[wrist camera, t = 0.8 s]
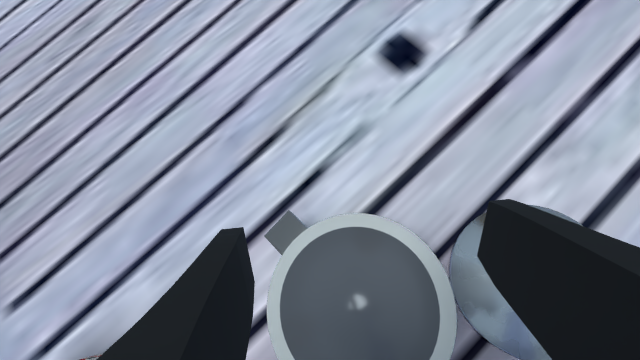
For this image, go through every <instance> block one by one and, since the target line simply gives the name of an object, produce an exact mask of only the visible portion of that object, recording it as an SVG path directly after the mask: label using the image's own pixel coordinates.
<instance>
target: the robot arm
mask: <svg viewBox="0 0 640 360" xmlns="http://www.w3.org/2000/svg"><path fill="white" fill-rule="evenodd" d="M477 256H478V258H479V260H480V262H481V264H482V265H483V267H484V269H485V271H486V272H487V274H488V276H489V277H490V279H491V281H492V282H493V284H494V286H495V287H496V288H497V290H498V291H499V292H500V294H501V295H502V296H503V297H504V299H505V300H506V301H507V303H508V304H509V305H510V307H511V308H512V309H513V311H514V312H515V313H516V314H517V316H518V317H519V318H520V319H521V321H522V322H523V323H524V325H525V326H526V327H527V328H528V330H529V331H530V332H531V333H532V335H533V336H534V337H535V339H536V340H537V341H538V342H539V344H540V345H541V346H542V347H543V349H544V350H545V351H546V353H547V354H548V355H549V356H550V358H551V359H552V360H640V248H639V247H637V246H634V245H631V244H628V243H626V242H623V241H620V240H618V239H615V238H612V237H610V236H607V235H604V234H602V233H599V232H596V231H594V230H591V229H589V228H586V227H584V226H581V225H578V224H576V223H573V222H571V221H568V220H566V219H563V218H561V217H558V216H555V215H553V214H550V213H548V212H545V211H543V210H540V209H537V208H534V207H532V206H529V205H526V204H523V203H520V202H517V201H514V200H510V199H506V200H496V201H489V204H488V208H487V213H486V217H485V222H484V226H483V231H482V235H481V240H480V244H479V248H478V253H477ZM254 283H255V281H254V276H253V272H252V267H251V262H250V257H249V253H248V248H247V243H246V238H245V234H244V229H243V227H241V228H232V229H222V230H221V231H220V232H219V233H218V234H217V235H216V236H215V237H214V238H213V240H212V241H211V242H210V243H209V244H208V246H207V247H206V248H205V249H204V250H203V251H202V253H201V254H200V255H199V256H198V257H197V259H196V260H195V261H194V262H193V263H192V264H191V266H190V267H189V268H188V269H187V270H186V271H185V272H184V273H183V275H182V276H181V277H180V278H179V279H178V280H177V281H176V282H175V284H174V285H173V286H172V287H171V288H170V289H169V290H168V291H167V292H166V293H165V294H164V295H163V296H162V297H161V298H160V299H159V300H158V301H157V303H156V304H155V305H154V306H153V307H152V308H151V309H150V310H149V311H148V312H147V313H146V314H145V315H144V316H143V317H142V318H141V319H140V320H139V321H138V322H137V323H136V324H135V325H134V326H133V327H132V328H131V329H129V330H128V331H127V332H126V333H125V334H124V335H123V336H122V337H121V338H120V339H119V340H118V341H117V342H115V343H114V344H113V345H112V346H111V347H110V348H109V349H108V350H106V351H105V352H104V353H103V354H102V355H101V356H100V357H99V358H98V359H96V360H246V354H247V348H248V342H249V336H250V330H251V324H252V317H253V304H254Z"/></svg>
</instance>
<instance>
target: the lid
mask: <svg viewBox="0 0 640 360" xmlns="http://www.w3.org/2000/svg"><path fill="white" fill-rule="evenodd" d="M529 206H532V207H534V208H537V209H540V210H543V211H545V212H548V213H550V214H553V215H555V216H558V217H561V218H563V219H566V220H568V221H571V222H573V223H576V224H578V225H581V224H580V223H578V222H577V221H575V220H573V219H572V218H570V217H568V216H566V215H564V214H562V213H559V212H557V211H554V210H551V209H548V208H544V207H540V206H533V205H529ZM486 213H487V212H486ZM486 213H484V214H482V215H480V216H479V217H477V218H476V219H475V220H473V221H472V222H471V223H469V224H468V225H467V226H466V227H465V228H464V230H463V231H462V232H461V234H460V235H459V236H458V238H457V240H456V242H455V244H454V247H453V249H452V253H451V257H450V266H449V274H450V282H451V287H452V290H453V294H454V297H455V300H456V302H457V304H458V306H459V308H460V310H461V311H462V313H463V315H464V316H465V318H466V319H467V320H468V322H469V323H470V324H471V325H472V327H473V328H474V329H475V330H476V331H477V332H478V333H479V334H480V335H481V336H483V337H484V338H485V339H486V340H488V341H489V342H490V343H492V344H493V345H495V346H496V347H498V348H499V349H501V350H503V351H504V352H506V353H508V354H510V355H512V356H514V357H517V358H520V359H522V360H552V359H551V358H550V356H549V355H548V354H547V353H546V351H545V350H544V349H543V347H542V346H541V345H540V344H539V342H538V341H537V340H536V339H535V337H534V336H533V335H532V333H531V332H530V331H529V330H528V328H527V327H526V326H525V325H524V323H523V322H522V321H521V319H520V318H519V317H518V316H517V314H516V313H515V312H514V311H513V309H512V308H511V307H510V305H509V304H508V303H507V301H506V300H505V299H504V297H503V296H502V295H501V294H500V292H499V291H498V290H497V288H496V287H495V286H494V284H493V282H492V281H491V279H490V277H489V276H488V274H487V272H486V271H485V269H484V267H483V265H482V264H481V262H480V260H479V258H478V256H477V253H478V248H479V244H480V240H481V235H482V231H483V226H484V222H485V217H486ZM581 226H582V225H581Z"/></svg>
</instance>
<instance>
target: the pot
mask: <svg viewBox="0 0 640 360" xmlns="http://www.w3.org/2000/svg"><path fill="white" fill-rule="evenodd" d="M265 238H266V239H267V240H268V241H269V242H270V243H271V244H272V245H273V246H274V247H275V248H276V249H277V250H278V252H279V253H280V254H281V255H282V256H281V258H280V260H279V262H278V264H277V266H276V268H275V270H274V273H273V276H272V279H271V282H270V286H269V291H268V298H267V322H268V330H269V334H270V338H271V342H272V345H273V348H274V351H275V353H276V356H277V358H278V360H450V358H451V355H452V352H453V349H454V344H455V338H456V330H457V314H456V304H455V299H454V294H453V290H452V288H451V285H450V282H449V279H448V277H447V275H446V273H445V270H444V268H443V266H442V265H441V263H440V262H439V260H438V259H437V257H436V255H435V254H434V253H433V252H432V251H431V249H430V248H429V247H428V246H427V245H426V244H425V243H424V242H423V241H422V240H421V239H420V238H419V237H418V236H417V235H415V234H414V233H413V232H411V231H410V230H409V229H407V228H405V227H404V226H402V225H400V224H398V223H397V222H394V221H392V220H389V219H387V218H384V217H380V216H376V215H371V214H364V213H350V214H341V215H337V216H333V217H330V218H327V219H324V220H322V221H319V222H318V223H316V224H314V225H312V226H310V227H309V228H307V227H306V226H305V225H304V224H303V223H302V222H301V221H300V220H299V219H298V218H297V217H296V216H295V215H294V214H293V213H292V212H291V211H288V212H287V213H286V214H285V215H284V216H283V217H282V218H281V219H280V220H279V221H278V222H277V223H276V224H275V225H274V226H273V227H272V228H271V229H270V231H269V232H268V233H267V234H266V235H265Z"/></svg>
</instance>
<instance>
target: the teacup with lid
mask: <svg viewBox="0 0 640 360" xmlns="http://www.w3.org/2000/svg"><path fill="white" fill-rule="evenodd" d="M101 355H102V354H99V355H95V356H91V357H87V358H83V359H79V360H96V359H98V358H99V357H100V356H101Z"/></svg>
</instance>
